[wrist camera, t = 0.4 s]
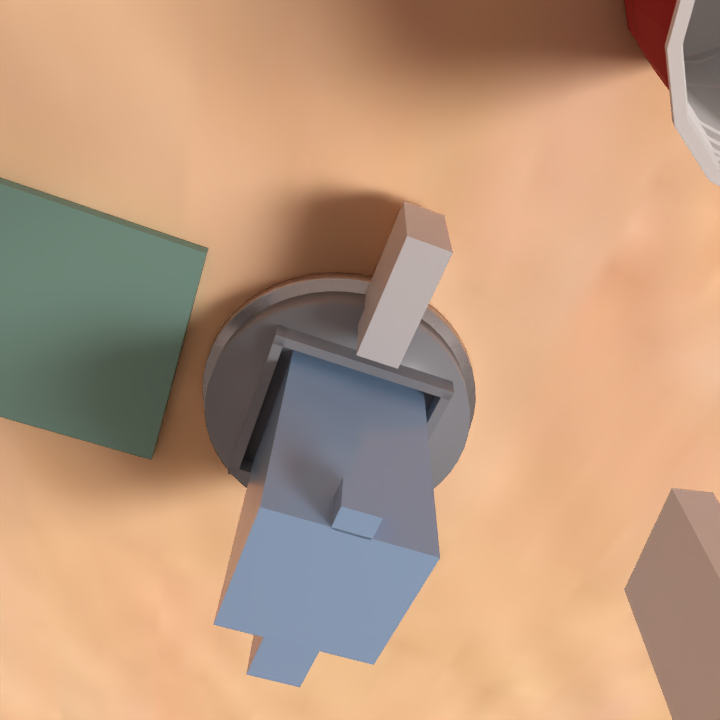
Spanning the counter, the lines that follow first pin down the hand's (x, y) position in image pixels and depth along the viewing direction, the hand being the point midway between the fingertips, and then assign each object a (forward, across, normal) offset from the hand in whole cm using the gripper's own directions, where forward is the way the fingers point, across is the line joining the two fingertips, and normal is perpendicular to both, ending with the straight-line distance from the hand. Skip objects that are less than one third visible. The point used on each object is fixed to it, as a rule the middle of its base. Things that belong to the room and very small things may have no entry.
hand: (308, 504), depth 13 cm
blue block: (+19, 0, -14) cm, 24 cm away
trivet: (+22, -15, -10) cm, 29 cm away
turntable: (+21, +1, -10) cm, 23 cm away
